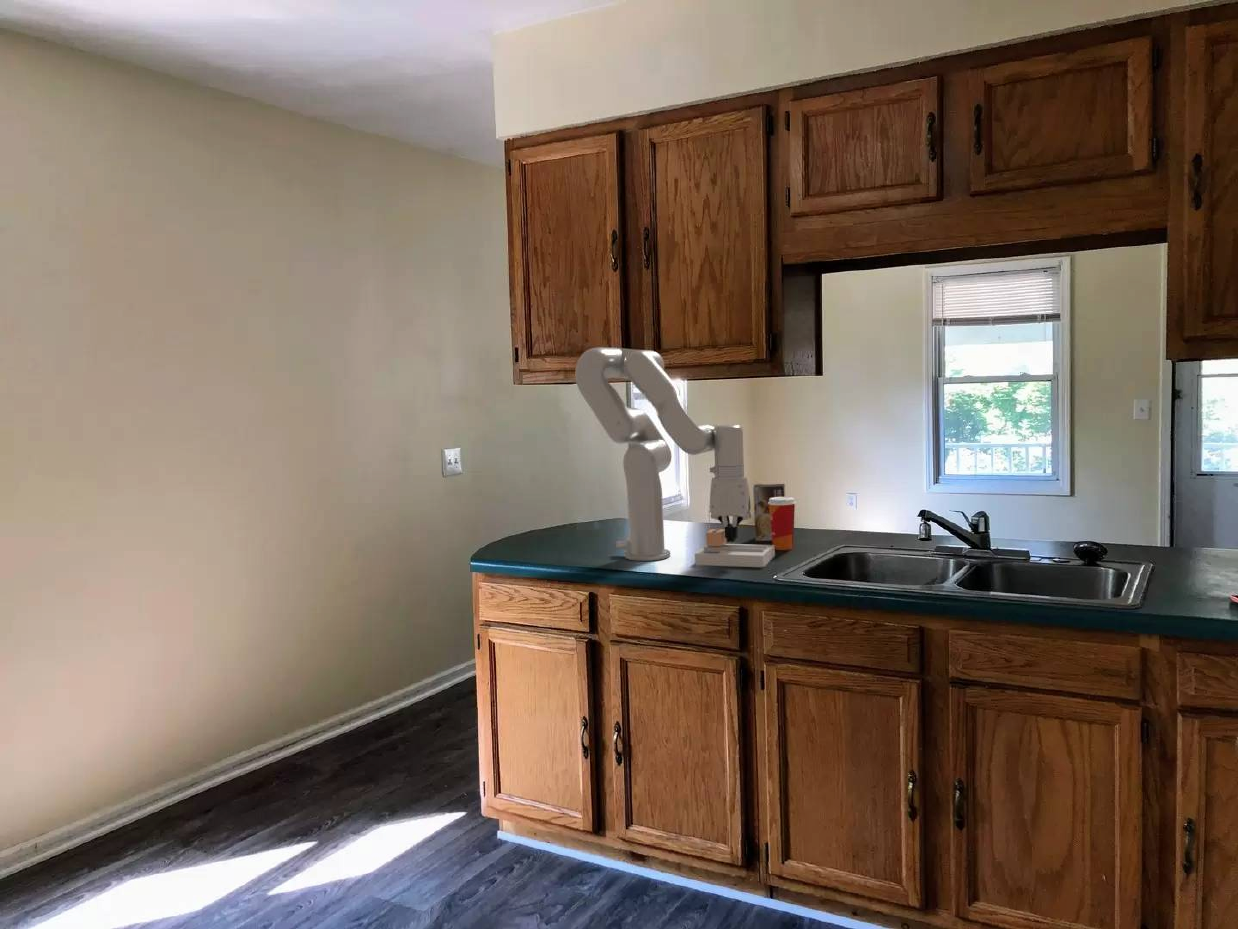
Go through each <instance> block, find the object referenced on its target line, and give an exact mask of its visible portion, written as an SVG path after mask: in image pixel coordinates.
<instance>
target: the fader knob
mask: <svg viewBox="0 0 1238 929" xmlns="http://www.w3.org/2000/svg"><path fill="white" fill-rule="evenodd" d="M705 534H706V535H705V536H706V537H705V538H706V545H707V546H714V547H719V546H723V545H724V544H727V538H725V528H724V529H723V528H722V529H720V527H717V528H715V529H714V528H711V529H710V530H708V531H706V532H705Z"/></svg>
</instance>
